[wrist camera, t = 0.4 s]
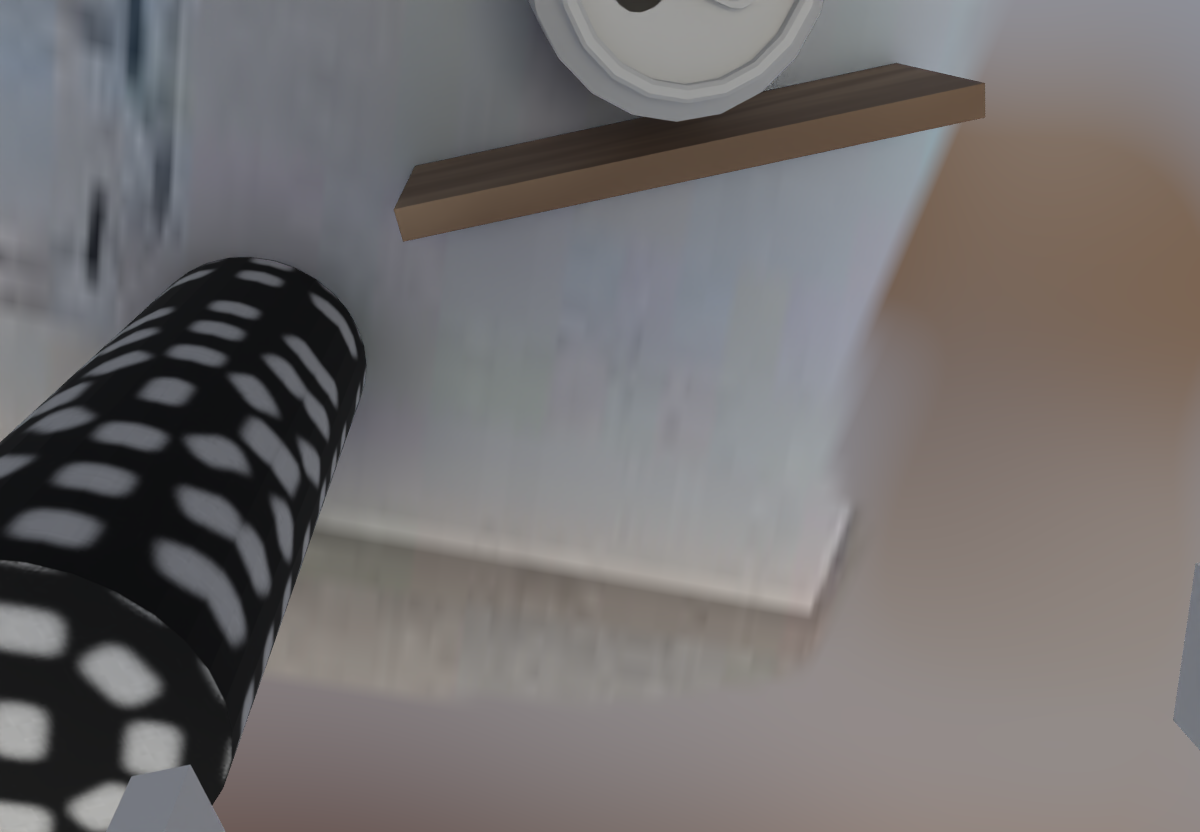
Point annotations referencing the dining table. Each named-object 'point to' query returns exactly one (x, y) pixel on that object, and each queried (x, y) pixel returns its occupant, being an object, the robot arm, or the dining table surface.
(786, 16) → the can
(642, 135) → the rack
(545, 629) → the dining table surface
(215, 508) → the spotted tube
